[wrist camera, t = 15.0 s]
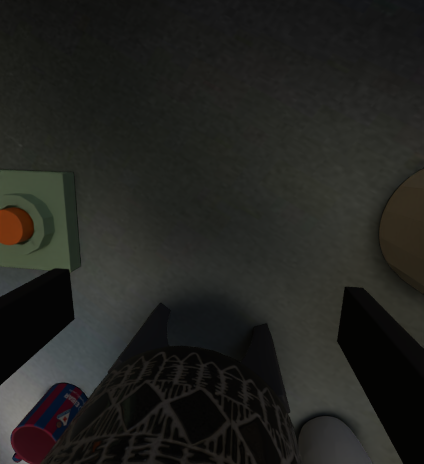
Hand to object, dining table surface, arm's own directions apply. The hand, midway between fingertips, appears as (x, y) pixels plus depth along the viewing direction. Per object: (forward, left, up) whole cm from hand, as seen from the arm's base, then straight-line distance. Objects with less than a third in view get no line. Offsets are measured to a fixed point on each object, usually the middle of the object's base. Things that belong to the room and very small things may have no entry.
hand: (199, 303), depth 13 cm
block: (+1, -24, -20) cm, 31 cm away
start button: (+1, -24, -16) cm, 29 cm away
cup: (+30, -24, -20) cm, 43 cm away
